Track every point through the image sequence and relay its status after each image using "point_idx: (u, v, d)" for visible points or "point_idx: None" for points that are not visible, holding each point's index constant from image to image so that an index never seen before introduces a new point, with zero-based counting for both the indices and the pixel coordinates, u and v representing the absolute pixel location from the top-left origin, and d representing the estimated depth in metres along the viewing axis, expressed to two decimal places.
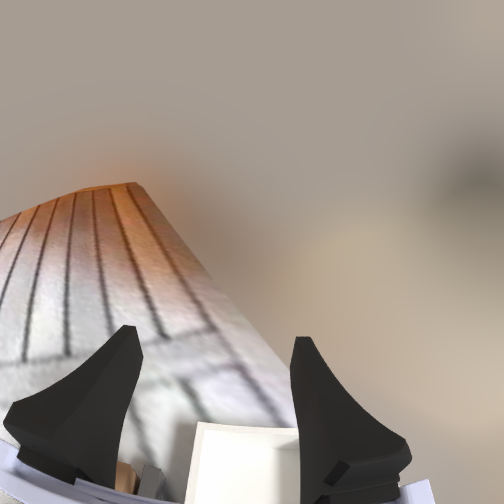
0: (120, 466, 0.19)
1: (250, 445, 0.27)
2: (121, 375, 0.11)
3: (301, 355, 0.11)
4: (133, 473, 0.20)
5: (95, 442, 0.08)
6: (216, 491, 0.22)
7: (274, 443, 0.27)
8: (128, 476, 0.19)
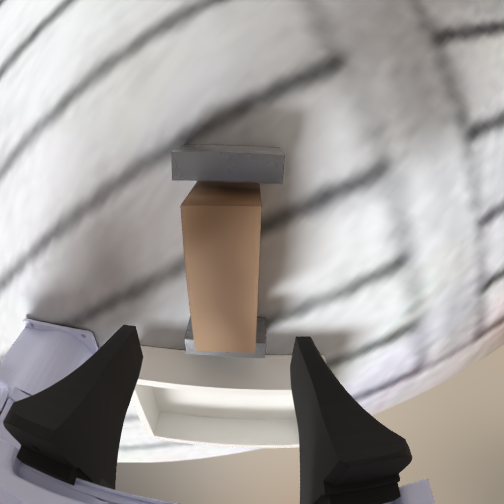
0: (248, 344, 0.19)
1: None
2: (120, 375, 0.11)
3: (301, 355, 0.11)
4: None
5: (95, 442, 0.08)
6: None
7: None
8: None
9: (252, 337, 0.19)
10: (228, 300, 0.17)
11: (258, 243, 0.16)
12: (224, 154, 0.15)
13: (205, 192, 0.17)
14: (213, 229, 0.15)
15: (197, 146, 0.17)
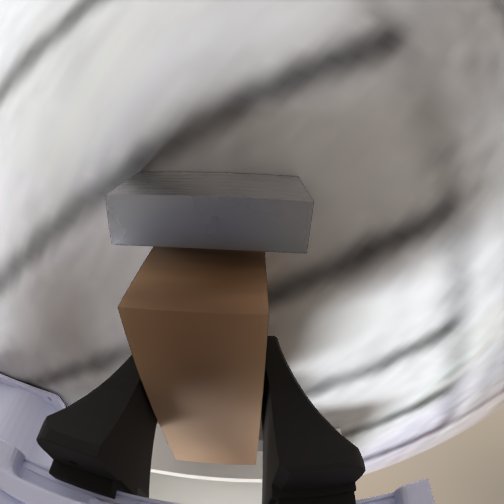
0: (246, 459, 0.12)
1: None
2: None
3: None
4: None
5: (134, 452, 0.08)
6: None
7: None
8: None
9: (251, 454, 0.11)
10: (216, 424, 0.10)
11: (262, 366, 0.08)
12: (198, 199, 0.08)
13: (169, 265, 0.09)
14: (180, 345, 0.08)
15: (157, 177, 0.10)
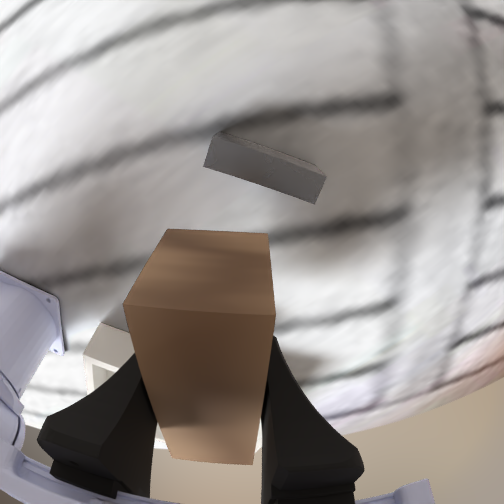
0: (243, 459, 0.12)
1: None
2: None
3: None
4: None
5: (134, 452, 0.08)
6: None
7: None
8: None
9: (249, 454, 0.11)
10: (215, 424, 0.10)
11: (265, 366, 0.08)
12: (267, 156, 0.14)
13: (174, 263, 0.09)
14: (184, 344, 0.08)
15: (235, 138, 0.16)
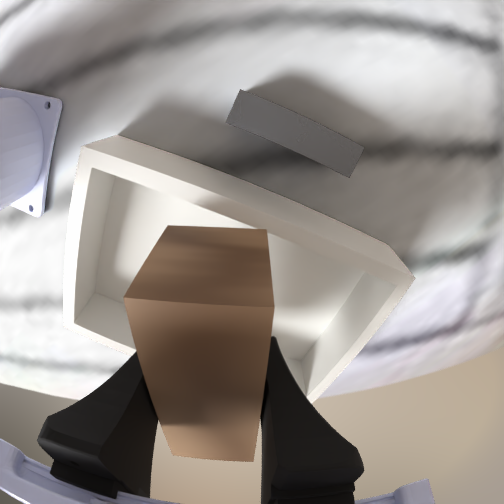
0: (244, 455, 0.12)
1: (340, 317, 0.19)
2: None
3: None
4: None
5: (135, 452, 0.08)
6: (281, 243, 0.17)
7: (323, 349, 0.19)
8: None
9: (249, 450, 0.11)
10: (215, 419, 0.10)
11: (265, 360, 0.08)
12: None
13: (174, 258, 0.10)
14: (184, 338, 0.08)
15: None
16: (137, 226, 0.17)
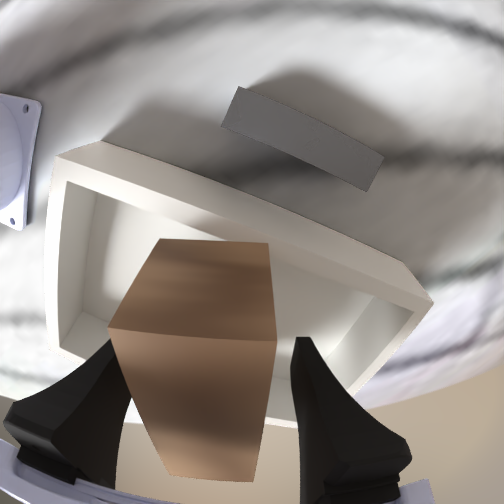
0: (243, 477, 0.11)
1: (348, 340, 0.17)
2: (121, 375, 0.11)
3: (301, 355, 0.11)
4: None
5: (95, 442, 0.08)
6: (285, 263, 0.15)
7: None
8: None
9: (249, 472, 0.10)
10: (213, 446, 0.09)
11: (266, 392, 0.07)
12: None
13: (165, 278, 0.08)
14: (177, 370, 0.07)
15: None
16: (124, 243, 0.15)
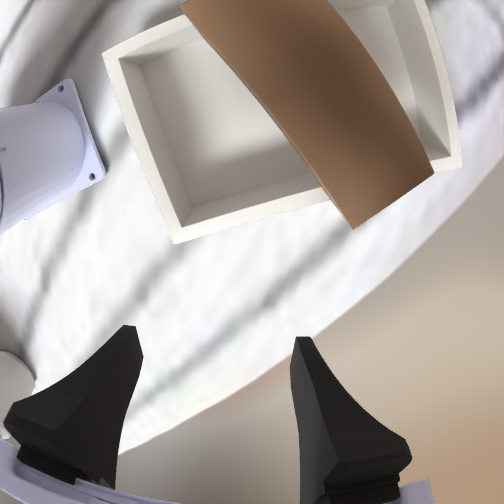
0: (418, 161, 0.09)
1: (411, 69, 0.14)
2: (121, 375, 0.11)
3: (301, 355, 0.11)
4: None
5: (95, 442, 0.08)
6: None
7: (426, 106, 0.14)
8: None
9: (415, 143, 0.09)
10: (343, 92, 0.08)
11: None
12: None
13: None
14: (242, 3, 0.07)
15: None
16: (191, 106, 0.16)
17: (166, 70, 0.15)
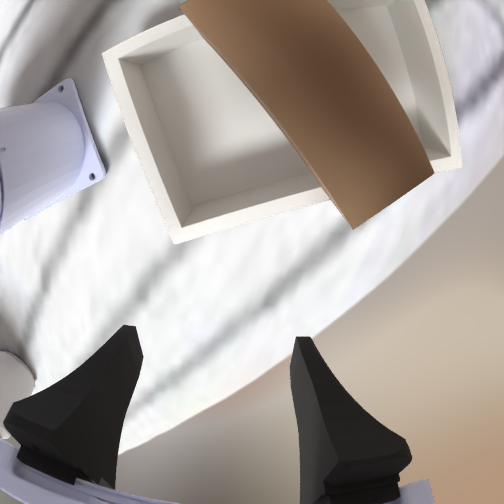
0: (418, 161, 0.09)
1: (411, 69, 0.14)
2: (121, 375, 0.11)
3: (301, 355, 0.11)
4: None
5: (95, 442, 0.08)
6: None
7: (426, 106, 0.14)
8: None
9: (415, 143, 0.09)
10: (343, 92, 0.08)
11: None
12: None
13: None
14: (242, 3, 0.07)
15: None
16: (191, 106, 0.16)
17: (166, 70, 0.15)
